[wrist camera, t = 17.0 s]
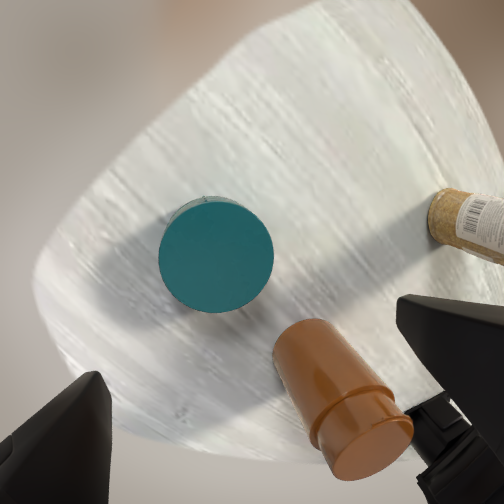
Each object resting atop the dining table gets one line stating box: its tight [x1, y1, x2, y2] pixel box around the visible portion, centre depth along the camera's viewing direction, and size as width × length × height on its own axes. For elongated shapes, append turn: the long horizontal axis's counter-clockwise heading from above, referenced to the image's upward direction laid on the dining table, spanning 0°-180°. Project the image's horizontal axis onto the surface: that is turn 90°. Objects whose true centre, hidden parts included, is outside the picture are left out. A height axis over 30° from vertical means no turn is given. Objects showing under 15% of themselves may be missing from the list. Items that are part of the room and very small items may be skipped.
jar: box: [273, 319, 414, 481], centre depth 18 cm, size 5×5×11 cm
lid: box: [159, 196, 274, 313], centre depth 18 cm, size 6×6×3 cm
